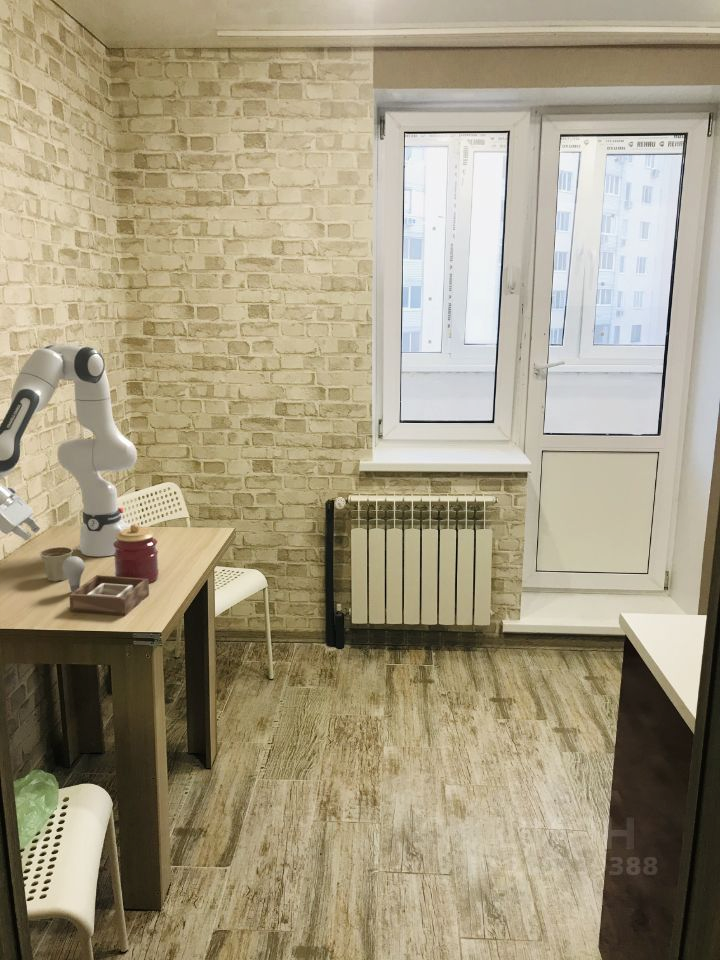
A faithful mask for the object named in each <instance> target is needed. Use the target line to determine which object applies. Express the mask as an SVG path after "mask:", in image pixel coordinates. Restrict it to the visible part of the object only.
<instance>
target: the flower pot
mask: <svg viewBox="0 0 720 960" xmlns="http://www.w3.org/2000/svg"><path fill="white" fill-rule="evenodd" d="M73 552H74V550H73V549H72V548H71V547H67V546H65V547H63V546H61V547H60V546H59V547H56V546H55V547H50V548H45V549H43V550H41V551H40V552H39V556H41V559H42V560H43V561H42V562H43V564H44V568H45V572H46V577H47V580H48V581H49V582H59V581H65V580H68V578H67V576H66V575H65V573H64V571H63V568H62V567H63V563H64V561H65V560H66V559H67V558H69V557H72V553H73Z"/></svg>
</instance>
